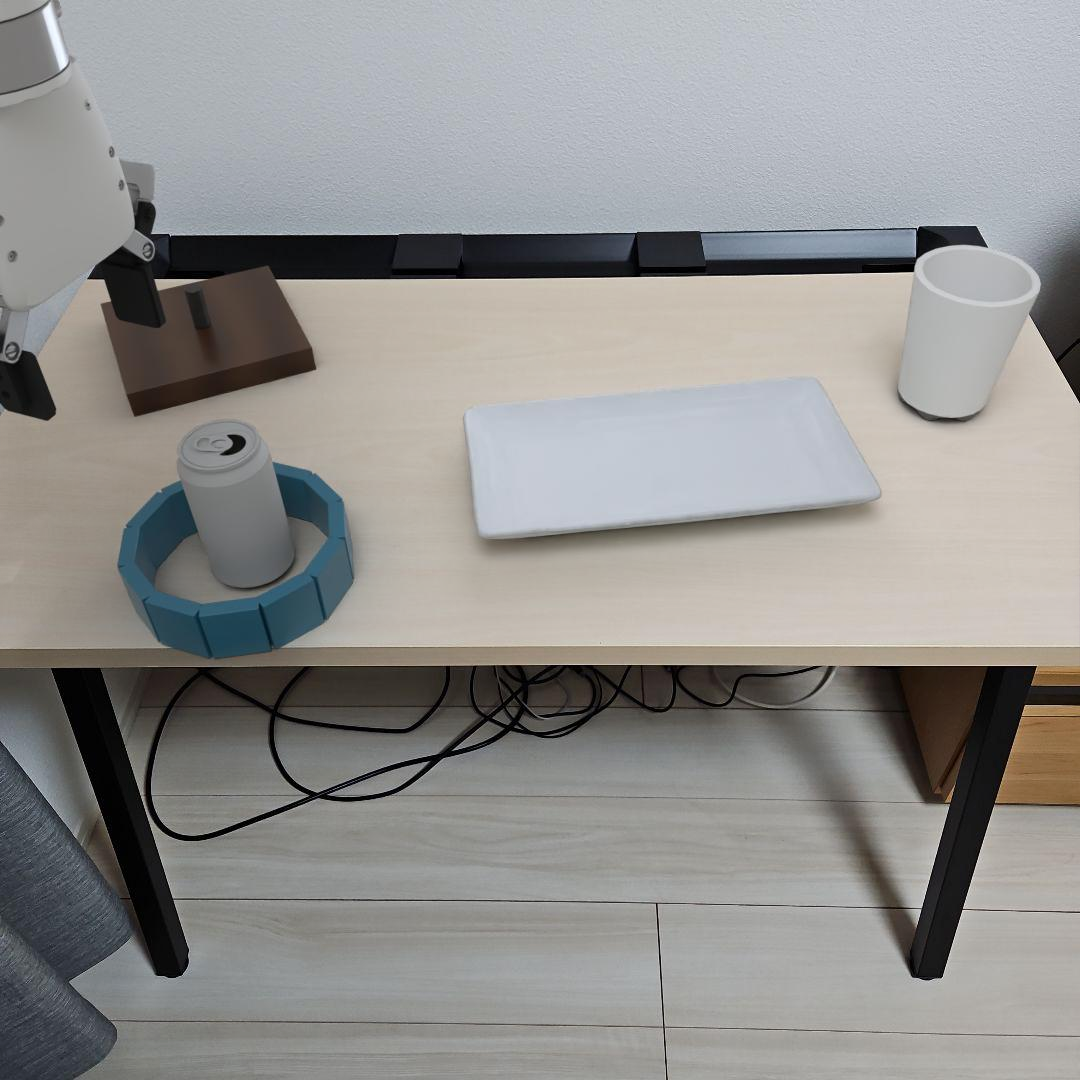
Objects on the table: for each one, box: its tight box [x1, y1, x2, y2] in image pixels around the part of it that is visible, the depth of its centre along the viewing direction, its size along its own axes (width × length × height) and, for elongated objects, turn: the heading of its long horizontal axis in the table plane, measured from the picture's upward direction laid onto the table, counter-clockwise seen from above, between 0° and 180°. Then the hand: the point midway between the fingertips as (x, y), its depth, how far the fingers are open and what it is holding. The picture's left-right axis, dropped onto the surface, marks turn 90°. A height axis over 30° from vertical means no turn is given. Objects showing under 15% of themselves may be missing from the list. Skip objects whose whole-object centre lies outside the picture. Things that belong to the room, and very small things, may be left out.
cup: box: [897, 244, 1042, 422], centre depth 90 cm, size 10×10×13 cm
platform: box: [100, 265, 317, 417], centre depth 101 cm, size 17×17×6 cm
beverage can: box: [176, 418, 296, 589], centre depth 77 cm, size 6×6×12 cm
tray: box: [462, 375, 883, 540], centre depth 86 cm, size 17×31×4 cm, turn 97°
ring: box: [116, 461, 355, 660], centre depth 78 cm, size 17×17×4 cm
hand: (89, 365), depth 59 cm, fingers open, 9 cm apart
